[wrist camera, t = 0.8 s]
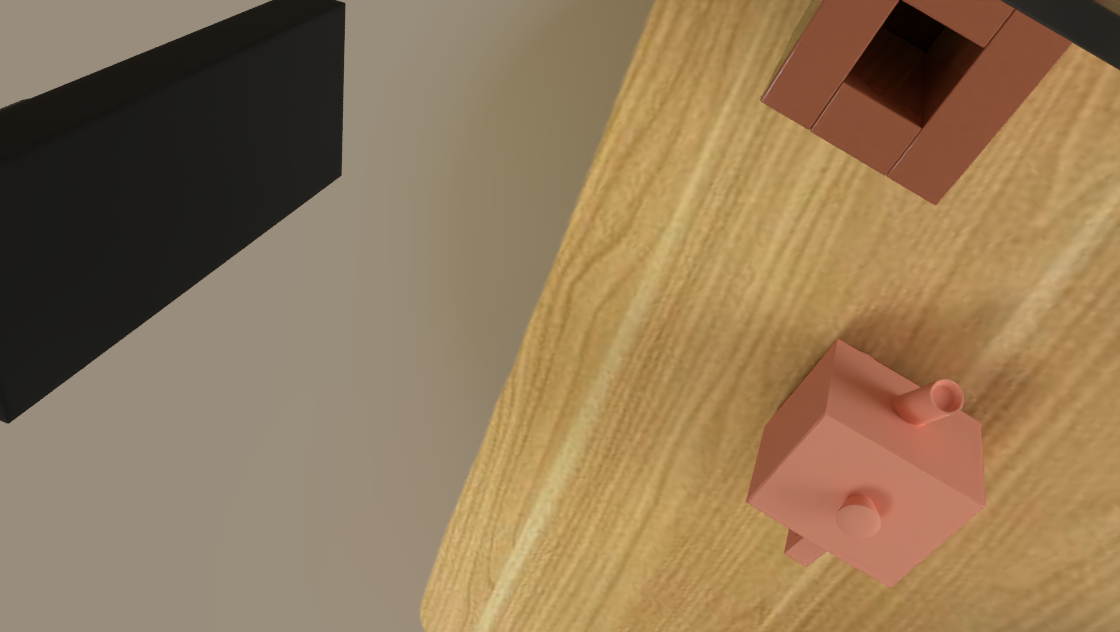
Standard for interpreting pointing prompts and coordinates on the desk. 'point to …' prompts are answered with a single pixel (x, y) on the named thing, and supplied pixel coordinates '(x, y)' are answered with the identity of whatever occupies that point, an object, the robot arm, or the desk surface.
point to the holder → (911, 84)
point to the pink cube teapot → (869, 466)
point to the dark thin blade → (1079, 23)
